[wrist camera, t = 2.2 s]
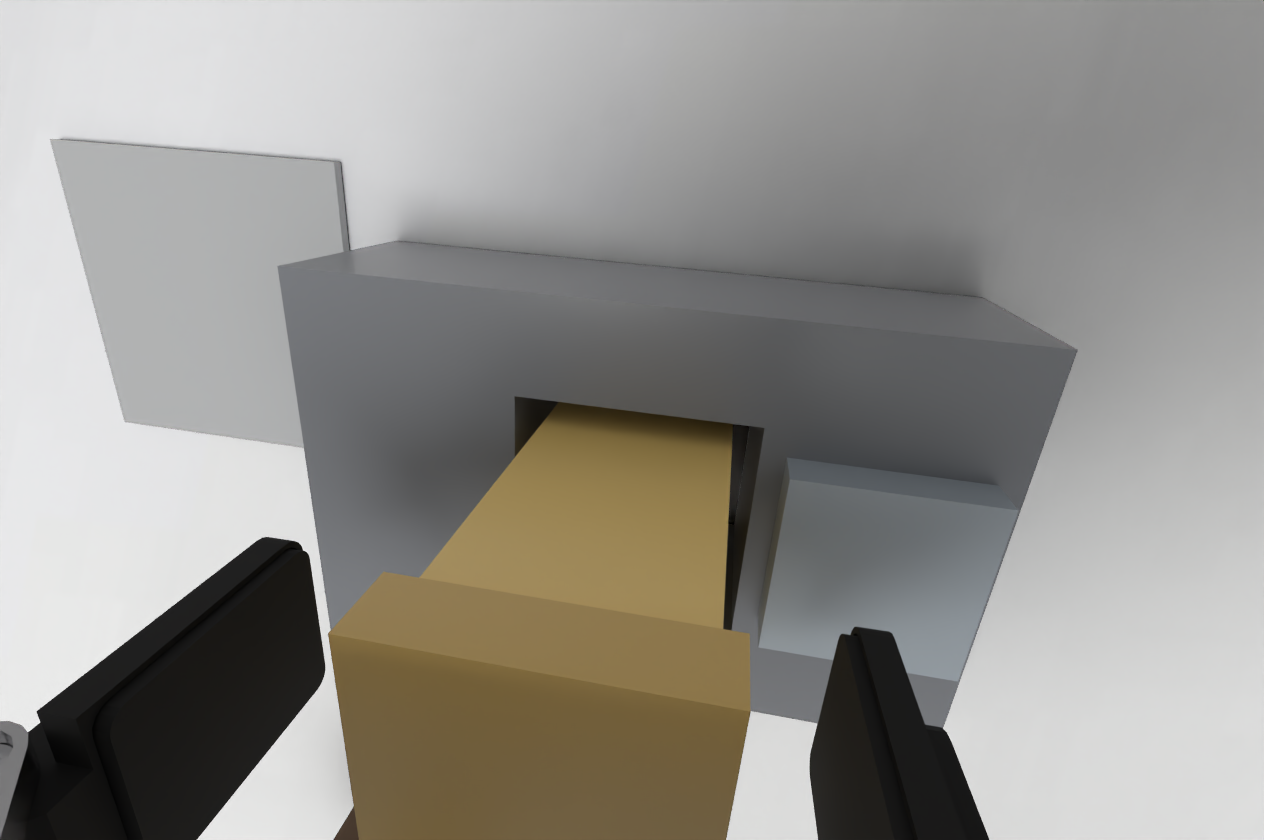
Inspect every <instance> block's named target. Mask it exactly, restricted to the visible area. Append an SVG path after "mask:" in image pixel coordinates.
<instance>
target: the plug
mask: <svg viewBox="0 0 1264 840" xmlns="http://www.w3.org/2000/svg"><path fill="white" fill-rule="evenodd" d="M732 436H733V424H729V423H721V422H714V421H706V420H698V419H690V418H682V417H674V416H666V415H658V414H651V413H643V412H635V411H627V410H619V409H611V408H603V407H596V406H588V405H580V404H572V403H564V402H559V403H558V404H557V405H556V406H555V408H554V409H553V410H552V411H551V413H550V414H549V415H548V416H547V418H546V419H545V420H544V421H543V423H542V424H541V425H540V426H539V428H538V429H537V430H536V432H535V433H534V434H533V435H532V437H531V438H530V439H529V440H528V442H527V443H526V444H525V445H524V447H523V448H522V449H521V450H520V452H519V453H518V454H517V455H516V457H515V458H514V459H513V460H512V462H511V463H510V464H509V465H508V467H507V468H506V469H505V471H504V472H503V473H502V474H501V476H500V477H499V478H498V479H497V481H496V482H495V483H494V484H493V486H492V487H491V488H490V489H489V491H488V492H487V493H486V494H485V496H484V497H483V498H482V499H481V501H480V502H479V503H478V504H477V506H476V507H475V508H474V510H473V511H472V512H471V513H470V515H469V516H468V517H467V518H466V520H465V521H464V522H463V523H462V525H461V526H460V527H459V528H458V530H457V531H456V532H455V533H454V535H453V536H452V537H451V538H450V540H449V541H448V542H447V544H446V545H445V546H444V547H443V549H442V550H441V551H440V552H439V554H438V555H437V556H436V557H435V559H434V560H433V561H432V562H431V564H430V565H429V566H428V567H427V569H426V570H425V571H424V572H423V574H422V575H421V576H420V577H419V578H418V577H412V576H406V575H400V574H394V573H388V572H383V573H382V574H381V575H380V576H379V577H378V579H377V580H376V581H375V582H374V583H373V584H372V585H371V586H370V587H369V589H368V590H367V591H366V592H365V593H364V594H363V595H362V596H361V598H360V599H359V600H358V601H357V602H356V603H355V604H354V605H353V606H352V608H351V609H350V610H349V611H348V612H347V613H346V614H345V615H344V617H343V618H342V619H341V620H340V621H339V622H338V623H337V624H336V625H335V627H334V628H333V629H332V630H331V631H330V632H329V633H328V636H329V642H330V649H331V656H332V663H333V669H334V676H335V683H336V689H337V696H338V703H339V709H340V716H341V723H342V729H343V736H344V743H345V750H346V756H347V763H348V770H349V776H350V783H351V790H352V796H353V803H354V810H355V816H356V823H357V830H358V837H359V840H726V837H727V832H728V826H729V821H730V816H731V811H732V805H733V800H734V795H735V790H736V785H737V779H738V774H739V769H740V764H741V758H742V753H743V748H744V743H745V737H746V732H747V727H748V722H749V717H750V634H749V633H743V632H737V631H731V630H725V629H723V620H724V600H725V579H726V559H727V538H728V518H729V497H730V477H731V456H732Z"/></svg>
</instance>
